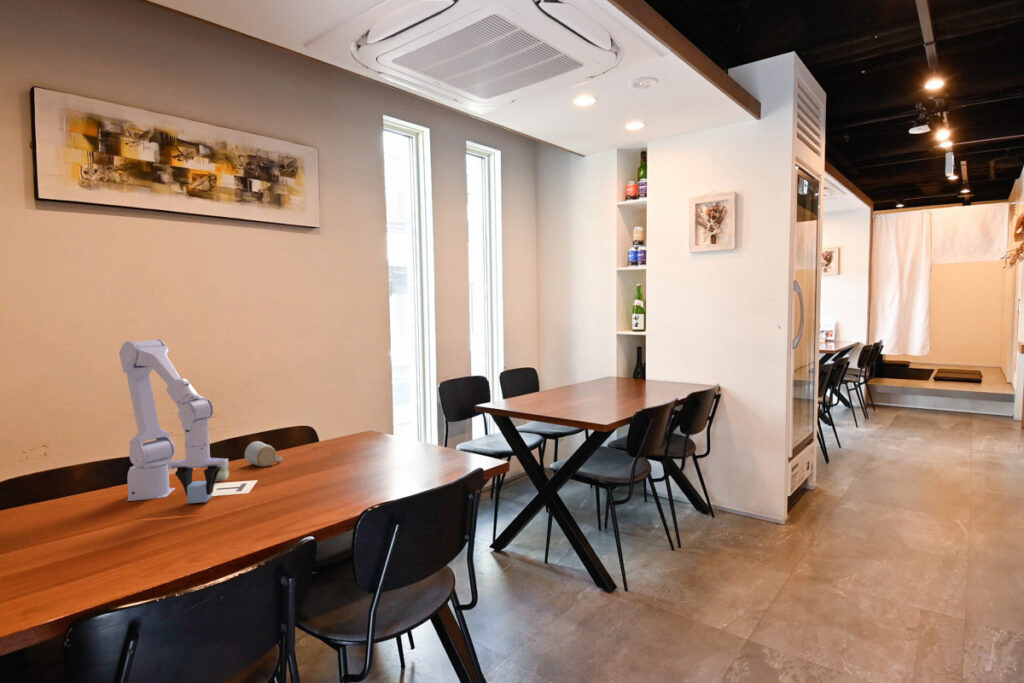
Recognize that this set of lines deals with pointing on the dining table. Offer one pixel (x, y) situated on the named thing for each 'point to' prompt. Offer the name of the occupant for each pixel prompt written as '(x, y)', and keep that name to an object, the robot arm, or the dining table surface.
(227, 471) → the green block
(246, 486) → the letter card
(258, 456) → the ceramic mug
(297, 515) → the dining table surface
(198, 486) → the blue cube
